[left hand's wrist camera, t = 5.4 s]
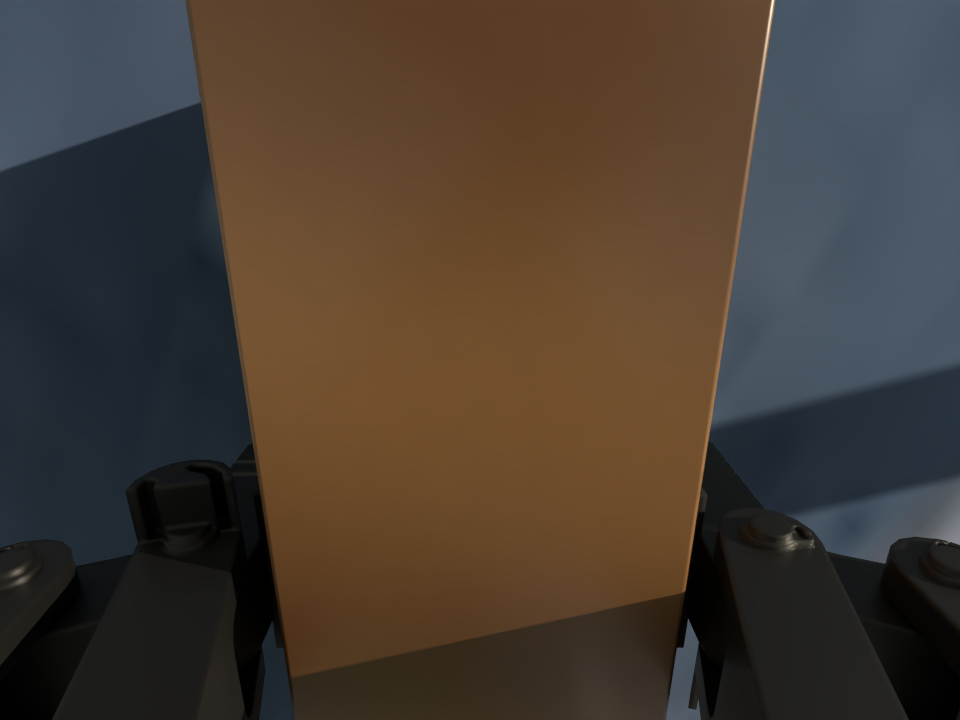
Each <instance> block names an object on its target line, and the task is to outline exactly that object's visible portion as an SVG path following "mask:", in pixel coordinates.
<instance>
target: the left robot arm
mask: <svg viewBox="0 0 960 720" xmlns="http://www.w3.org/2000/svg"><path fill="white" fill-rule="evenodd" d="M126 495H127V499H128V503H129V508H130V512H131V516H132V520H133V524H134V528H135V532H136V536H137V540H138V545H137V547H136V549H135V551H134V553H133V554H132V555H128V556H124V557H120V558H115V559H110V560H105V561H100V562H95V563H90V564H85V565H80V566H76V565H75V562H74V558H73V555H72V551H71V548H69V547H68V546H67V545H66V544H64V543H63V542H60V541H53V540H47V539H46V540H37V541H27V542H21V543H16V544H14V545H9V546H6V547H3V548H0V720H259V716H260V708H261V700H262V692H263V684H264V676H265V664H264V657H263V651H262V643H263V640H264V638H265V636H266V634H267V631H268V629H269V627H270V625H271V622H272V620H273V625H274V632H275V638H276V644H277V648H284V646H283V639H282V632H281V626H280V619H279V613H278V606H277V600H276V593H275V586H274V580H273V573H272V567H271V560H270V553H269V547H268V540H267V534H266V527H265V521H264V514H263V507H262V501H261V494H260V488H259V481H258V474H257V468H256V461H255V455H254V448H253V443H252V444H250V445H249V446H247V448H246V449H245V450H244V452H243V453H242V454H241V455H240V457H239V458H238V459H237V460H236V464H233V466H232V467H231V468H230V467H228V466H227V465H226V464H224V463H222V462H217V461H213V460H189V461H184V462H179V463H174V464H170V465H167V466H164V467H161V468H159V469H156V470H153V471H151V472H149V473H147V474H146V475H144V476H142V477H140V478H139V479H137V480H135V481H134V483H133V484H132V485H131V486H130V487H129V488H128V489H127V490H126ZM688 619H689V621H690V623H691V625H692V628H693V630H694V632H695V634H696V637H697V639H698V641H699V645H698V651H697V657H696V663H695V669H694V675H693V681H692V687H691V693H690V699H689V707H688V708H691V709H696V708H697V702H698V699H699V707H700V715H701V720H960V545H958V544H955V543H952V542H950V543H948V542H947V541H944V540H939V539H930V538H921V537H911V538H904V539H899V540H898V541H896V542H895V543H894V544H892V545H891V546H890V550H889V553H888V556H887V560H886V563H885V564H883V563H878V562H873V561H868V560H863V559H858V558H853V557H848V556H843V555H839V554H835V553H831V552H827V551H826V550H825V548H824V546H823V544H822V542H821V541H820V539H819V538H818V537H817V536H816V534H815V533H814V532H813V531H812V530H811V529H809V528H808V527H806V526H805V525H803V524H802V523H801V522H799V521H798V520H795V519H793V518H791V517H788V516H786V515H784V514H781V513H779V512H774V511H770V510H765V509H764V508H763V507H762V506H761V504H760V503H759V502H758V501H757V499H756V498H755V497H754V495H753V494H752V493H751V492H750V490H749V489H748V488H747V487H746V485H745V484H744V483H743V482H742V480H741V479H740V478H739V477H738V475H737V474H734V470H733V469H732V468H731V466H730V465H729V464H728V463H727V462H725V461H724V458H723V456H722V455H721V454H720V453H719V451H718V450H717V449H716V447H715V446H714V445H713V444H712V443H710V442H709V441H708V446H707V452H706V459H705V465H704V472H703V479H702V485H701V492H700V498H699V505H698V511H697V518H696V525H695V531H694V538H693V544H692V551H691V557H690V564H689V570H688V577H687V584H686V590H685V597H684V603H683V610H682V616H681V623H680V629H679V636H678V643H677V648H683V647H684V640H685V634H686V628H687V621H688Z"/></svg>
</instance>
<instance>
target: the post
mask: <svg viewBox="0 0 960 720" xmlns="http://www.w3.org/2000/svg"><path fill="white" fill-rule="evenodd" d="M774 6H775V0H186V7H187V14H188V20H189V27H190V33H191V40H192V47H193V53H194V60H195V66H196V73H197V79H198V86H199V93H200V99H201V106H202V112H203V119H204V126H205V132H206V139H207V145H208V152H209V158H210V165H211V172H212V178H213V185H214V191H215V198H216V205H217V211H218V218H219V224H220V231H221V237H222V244H223V251H224V257H225V264H226V270H227V277H228V284H229V290H230V297H231V303H232V310H233V316H234V323H235V330H236V336H237V343H238V349H239V356H240V363H241V369H242V376H243V382H244V389H245V395H246V402H247V409H248V415H249V422H250V428H251V435H252V442H253V448H254V455H255V461H256V468H257V474H258V481H259V488H260V494H261V501H262V507H263V514H264V521H265V527H266V534H267V540H268V547H269V553H270V560H271V567H272V573H273V580H274V586H275V593H276V600H277V606H278V613H279V619H280V626H281V632H282V639H283V646H284V652H285V659H286V665H287V672H288V679H289V685H290V692H291V698H292V705H293V711H294V718H295V720H666V715H667V708H668V702H669V695H670V688H671V682H672V675H673V669H674V662H675V656H676V649H677V643H678V636H679V629H680V623H681V616H682V610H683V603H684V597H685V590H686V584H687V577H688V570H689V564H690V557H691V551H692V544H693V538H694V531H695V525H696V518H697V511H698V505H699V498H700V492H701V485H702V479H703V472H704V465H705V459H706V452H707V446H708V439H709V433H710V426H711V420H712V413H713V406H714V400H715V393H716V387H717V380H718V374H719V367H720V361H721V354H722V347H723V341H724V334H725V328H726V321H727V315H728V308H729V301H730V295H731V288H732V282H733V275H734V269H735V262H736V256H737V249H738V242H739V236H740V229H741V223H742V216H743V210H744V203H745V197H746V190H747V183H748V177H749V170H750V164H751V157H752V151H753V144H754V138H755V131H756V124H757V118H758V111H759V105H760V98H761V92H762V85H763V78H764V72H765V65H766V59H767V52H768V46H769V39H770V33H771V26H772V19H773V13H774Z"/></svg>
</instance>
